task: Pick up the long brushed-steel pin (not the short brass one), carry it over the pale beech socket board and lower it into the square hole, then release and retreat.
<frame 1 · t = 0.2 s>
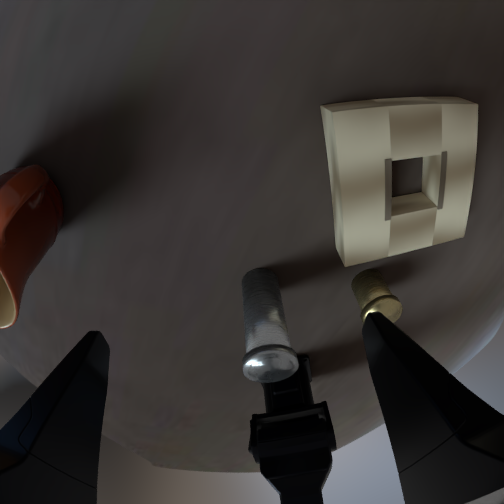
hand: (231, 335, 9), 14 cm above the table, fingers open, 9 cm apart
short pin: (366, 281, 28), on the table
socket board: (400, 171, 21), on the table
mug: (43, 188, 20), on the table
long pin: (259, 282, 27), on the table
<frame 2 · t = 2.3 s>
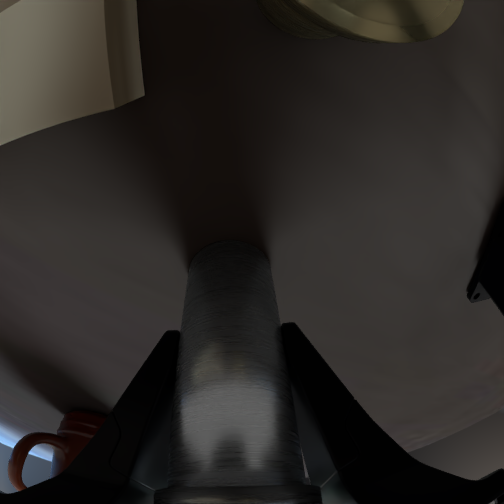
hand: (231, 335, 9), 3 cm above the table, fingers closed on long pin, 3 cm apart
mug: (88, 414, 20), on the table
long pin: (230, 274, 12), on the table, touching gripper
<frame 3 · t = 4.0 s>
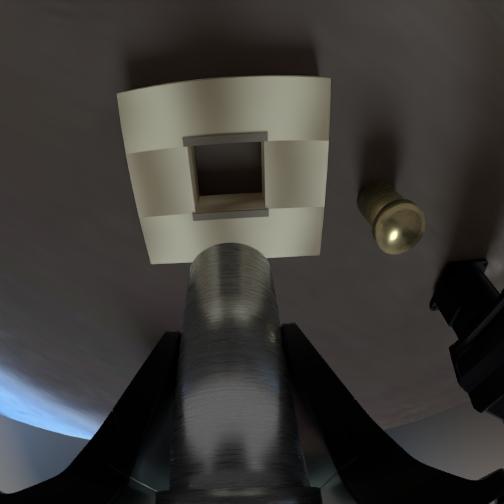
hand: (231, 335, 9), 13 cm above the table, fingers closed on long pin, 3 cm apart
short pin: (376, 199, 22), on the table
socket board: (228, 164, 20), on the table
long pin: (230, 276, 12), point 10 cm above the table, touching gripper
when the fingers open (3 cm above the table, at t = 5.9 s): long pin stays where it is, resting in socket board.
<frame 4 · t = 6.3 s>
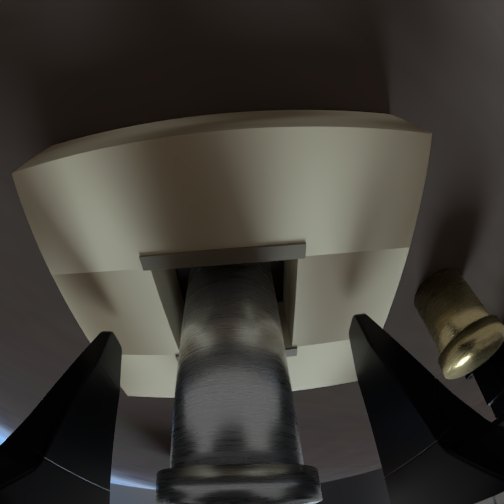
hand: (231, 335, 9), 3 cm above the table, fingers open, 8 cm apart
short pin: (438, 291, 14), on the table
socket board: (229, 266, 12), on the table
long pin: (230, 268, 12), resting in socket board
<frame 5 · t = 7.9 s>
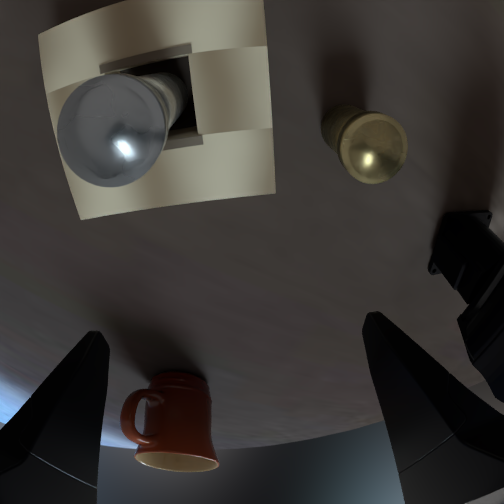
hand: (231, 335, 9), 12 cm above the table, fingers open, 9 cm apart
short pin: (344, 128, 17), on the table
socket board: (160, 96, 15), on the table
mug: (171, 375, 32), on the table
long pin: (161, 98, 15), resting in socket board
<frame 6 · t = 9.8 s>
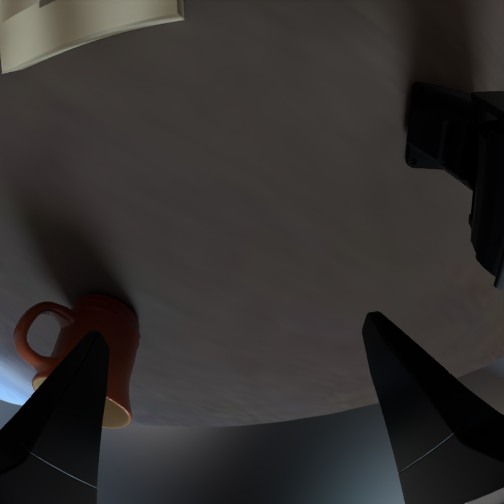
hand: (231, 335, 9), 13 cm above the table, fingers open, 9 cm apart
mug: (97, 303, 26), on the table
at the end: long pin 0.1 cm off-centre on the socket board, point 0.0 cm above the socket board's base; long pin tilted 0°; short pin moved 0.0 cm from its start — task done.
